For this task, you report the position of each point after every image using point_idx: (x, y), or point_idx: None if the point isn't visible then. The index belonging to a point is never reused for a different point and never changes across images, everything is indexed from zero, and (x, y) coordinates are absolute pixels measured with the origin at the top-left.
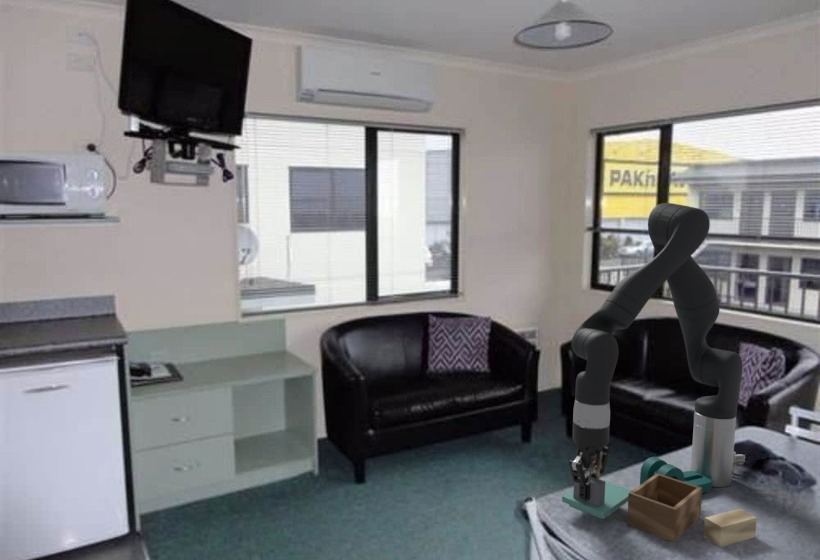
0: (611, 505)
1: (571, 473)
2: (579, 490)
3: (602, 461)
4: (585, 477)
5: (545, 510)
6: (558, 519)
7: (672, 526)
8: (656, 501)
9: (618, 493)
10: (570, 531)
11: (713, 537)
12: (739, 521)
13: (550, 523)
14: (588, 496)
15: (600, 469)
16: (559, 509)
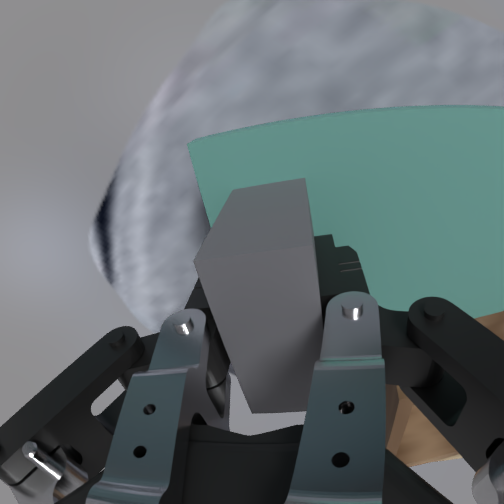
0: None
1: (51, 383)
2: (194, 290)
3: (454, 435)
4: (267, 325)
5: (183, 61)
6: (179, 146)
7: None
8: (397, 447)
9: (460, 288)
10: (163, 232)
11: None
12: (461, 457)
13: (132, 154)
14: None
15: (409, 391)
16: (246, 84)
